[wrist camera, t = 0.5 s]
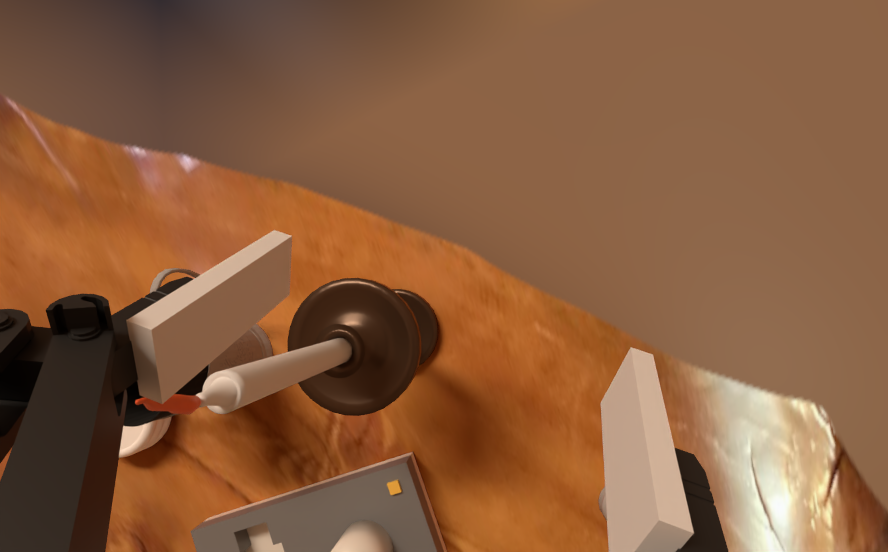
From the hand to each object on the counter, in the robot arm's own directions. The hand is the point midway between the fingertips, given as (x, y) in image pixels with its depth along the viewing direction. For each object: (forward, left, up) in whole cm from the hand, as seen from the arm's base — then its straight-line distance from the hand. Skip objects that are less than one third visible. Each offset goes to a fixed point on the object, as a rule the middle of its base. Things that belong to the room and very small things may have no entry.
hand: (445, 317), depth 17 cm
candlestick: (0, +11, -32) cm, 34 cm away
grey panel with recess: (-20, +27, -32) cm, 46 cm away
